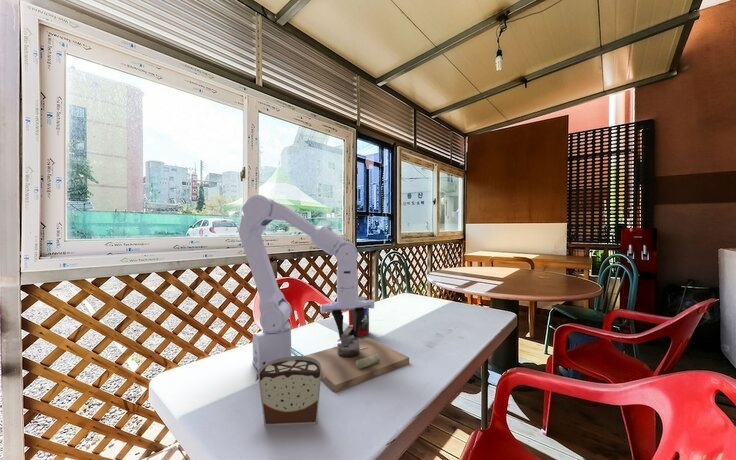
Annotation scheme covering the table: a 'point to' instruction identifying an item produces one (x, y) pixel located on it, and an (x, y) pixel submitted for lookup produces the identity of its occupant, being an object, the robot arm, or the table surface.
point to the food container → (290, 390)
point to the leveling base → (348, 367)
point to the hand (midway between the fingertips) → (348, 336)
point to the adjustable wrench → (295, 352)
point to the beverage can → (365, 321)
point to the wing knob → (348, 343)
